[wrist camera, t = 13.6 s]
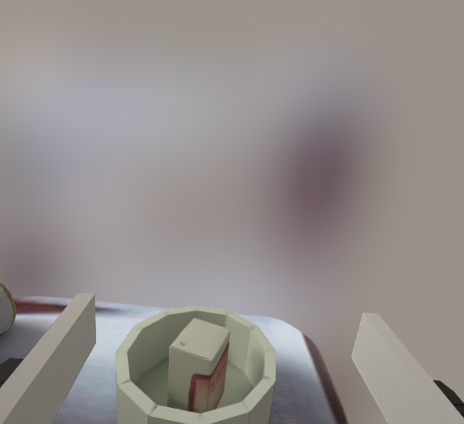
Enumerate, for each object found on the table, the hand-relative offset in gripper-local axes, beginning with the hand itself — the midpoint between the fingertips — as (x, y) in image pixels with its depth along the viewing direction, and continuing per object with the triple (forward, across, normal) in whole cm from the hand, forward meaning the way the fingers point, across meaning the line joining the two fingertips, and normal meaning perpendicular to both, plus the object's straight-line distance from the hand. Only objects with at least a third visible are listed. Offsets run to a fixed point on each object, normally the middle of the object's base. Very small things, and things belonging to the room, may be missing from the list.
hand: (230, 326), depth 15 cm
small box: (+12, -1, -18) cm, 22 cm away
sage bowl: (+12, -1, -19) cm, 23 cm away
